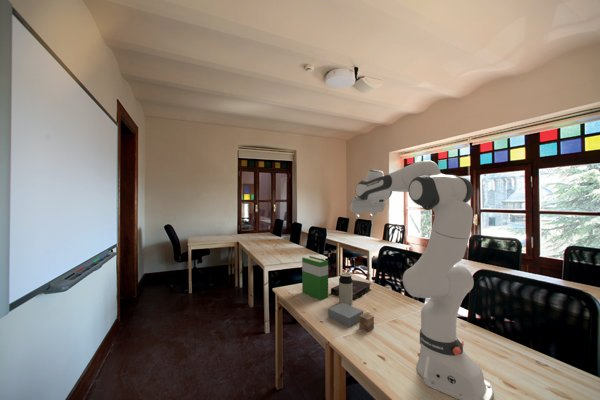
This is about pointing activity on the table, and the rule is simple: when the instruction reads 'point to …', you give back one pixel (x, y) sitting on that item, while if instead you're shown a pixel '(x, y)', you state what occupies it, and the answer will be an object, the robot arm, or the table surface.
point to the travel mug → (345, 288)
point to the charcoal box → (345, 314)
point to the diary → (355, 289)
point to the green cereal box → (315, 277)
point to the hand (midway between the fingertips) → (364, 217)
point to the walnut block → (366, 322)
